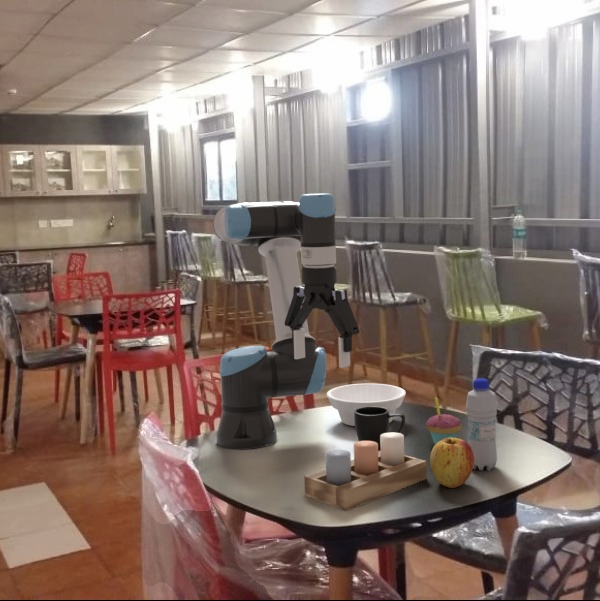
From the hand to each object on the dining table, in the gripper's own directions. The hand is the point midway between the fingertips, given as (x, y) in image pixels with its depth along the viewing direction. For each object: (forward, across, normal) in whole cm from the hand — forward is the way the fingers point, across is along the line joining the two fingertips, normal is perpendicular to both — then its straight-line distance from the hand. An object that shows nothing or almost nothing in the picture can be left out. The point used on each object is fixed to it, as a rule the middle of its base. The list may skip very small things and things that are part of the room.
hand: (321, 362), depth 180 cm
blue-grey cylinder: (+21, +14, -10) cm, 27 cm away
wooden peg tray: (+24, +14, -2) cm, 28 cm away
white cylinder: (+21, +15, +6) cm, 26 cm away
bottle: (+24, +26, +23) cm, 42 cm away
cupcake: (+25, +10, +32) cm, 42 cm away
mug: (+25, +1, +18) cm, 31 cm away
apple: (+24, +27, +10) cm, 38 cm away
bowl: (+25, -17, +35) cm, 46 cm away
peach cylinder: (+21, +14, -2) cm, 26 cm away
